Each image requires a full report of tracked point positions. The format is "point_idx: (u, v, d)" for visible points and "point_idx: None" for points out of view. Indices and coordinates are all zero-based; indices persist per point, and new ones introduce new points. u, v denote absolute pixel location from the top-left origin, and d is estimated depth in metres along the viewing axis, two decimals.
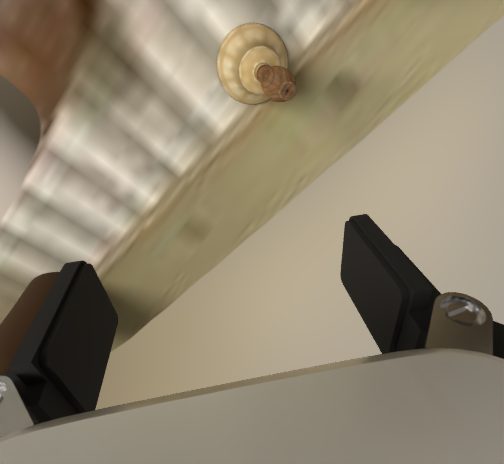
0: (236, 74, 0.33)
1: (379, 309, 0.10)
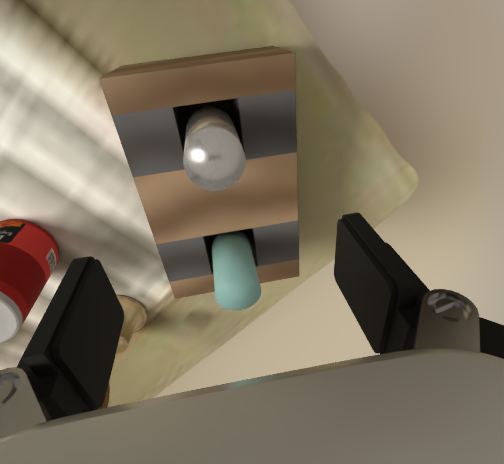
0: None
1: (370, 306, 0.10)
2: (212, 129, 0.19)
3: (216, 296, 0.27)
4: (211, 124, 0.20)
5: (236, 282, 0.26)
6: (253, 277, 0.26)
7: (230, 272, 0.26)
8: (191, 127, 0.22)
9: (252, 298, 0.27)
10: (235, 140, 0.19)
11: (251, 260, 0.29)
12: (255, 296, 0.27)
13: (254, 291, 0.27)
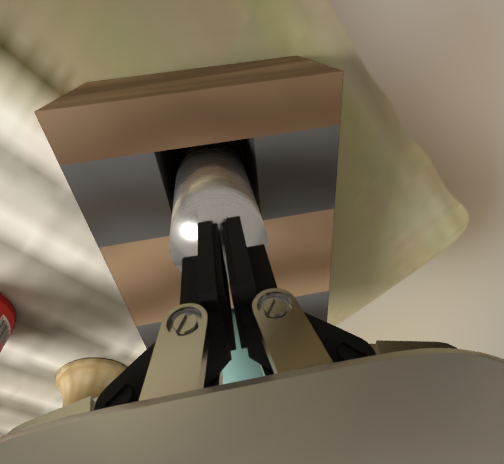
0: None
1: None
2: (216, 197, 0.12)
3: None
4: (214, 185, 0.13)
5: None
6: None
7: None
8: (182, 183, 0.14)
9: None
10: (253, 215, 0.12)
11: None
12: None
13: None
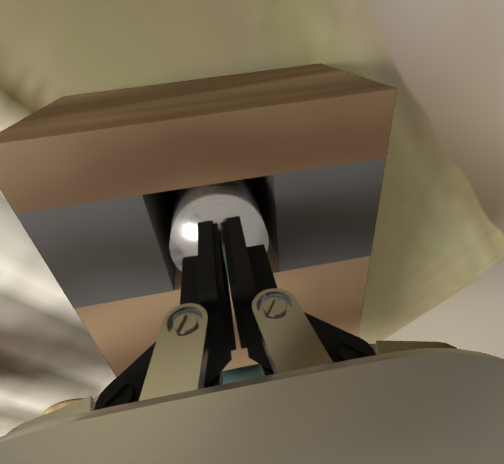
0: None
1: None
2: (216, 197, 0.12)
3: None
4: (214, 185, 0.13)
5: None
6: None
7: None
8: None
9: None
10: (254, 215, 0.12)
11: None
12: None
13: None
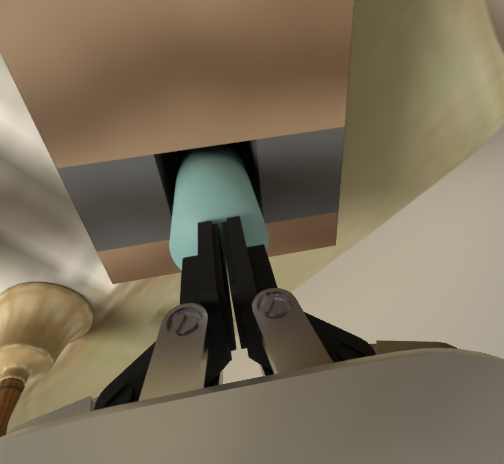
0: None
1: None
2: None
3: (172, 250, 0.12)
4: None
5: (215, 216, 0.12)
6: (252, 207, 0.12)
7: (202, 196, 0.12)
8: None
9: None
10: None
11: (248, 185, 0.14)
12: None
13: (254, 241, 0.13)
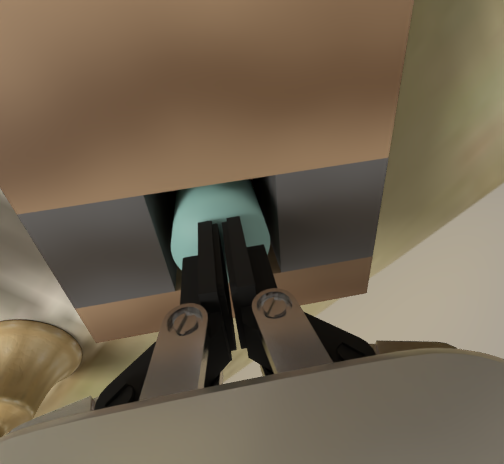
0: None
1: None
2: None
3: (174, 251, 0.12)
4: None
5: (216, 218, 0.12)
6: (253, 209, 0.12)
7: (203, 197, 0.12)
8: None
9: None
10: None
11: (249, 186, 0.14)
12: None
13: (256, 242, 0.13)
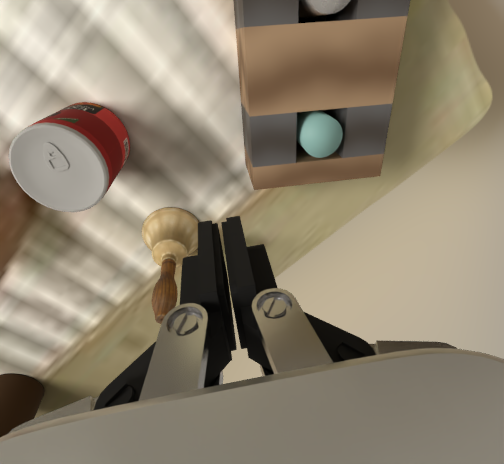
0: None
1: None
2: None
3: (304, 137, 0.30)
4: None
5: (323, 123, 0.30)
6: (337, 121, 0.30)
7: (318, 115, 0.30)
8: None
9: (333, 144, 0.31)
10: None
11: None
12: (335, 143, 0.31)
13: (336, 136, 0.31)
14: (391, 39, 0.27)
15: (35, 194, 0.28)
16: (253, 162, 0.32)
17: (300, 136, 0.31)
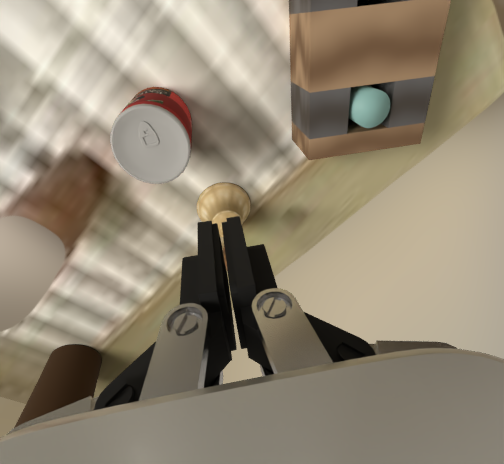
0: None
1: None
2: None
3: (356, 110, 0.34)
4: None
5: (374, 96, 0.34)
6: (385, 94, 0.34)
7: (368, 89, 0.34)
8: None
9: (381, 115, 0.35)
10: None
11: None
12: (384, 114, 0.35)
13: (384, 108, 0.34)
14: (436, 17, 0.31)
15: (129, 168, 0.32)
16: (310, 134, 0.35)
17: (352, 109, 0.35)
